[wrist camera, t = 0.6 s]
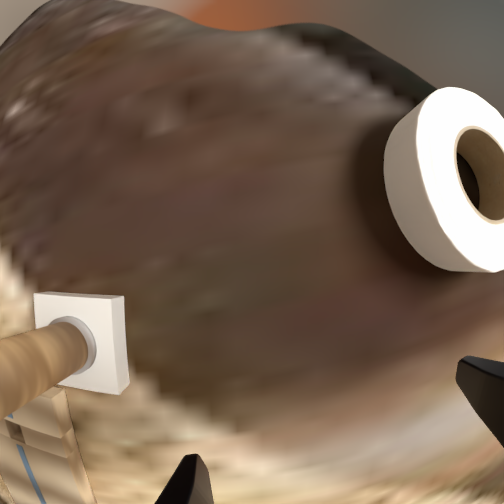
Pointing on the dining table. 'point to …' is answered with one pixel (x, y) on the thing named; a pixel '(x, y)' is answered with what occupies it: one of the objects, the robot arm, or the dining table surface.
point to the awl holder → (103, 329)
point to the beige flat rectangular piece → (43, 453)
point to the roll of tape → (449, 180)
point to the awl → (42, 360)
